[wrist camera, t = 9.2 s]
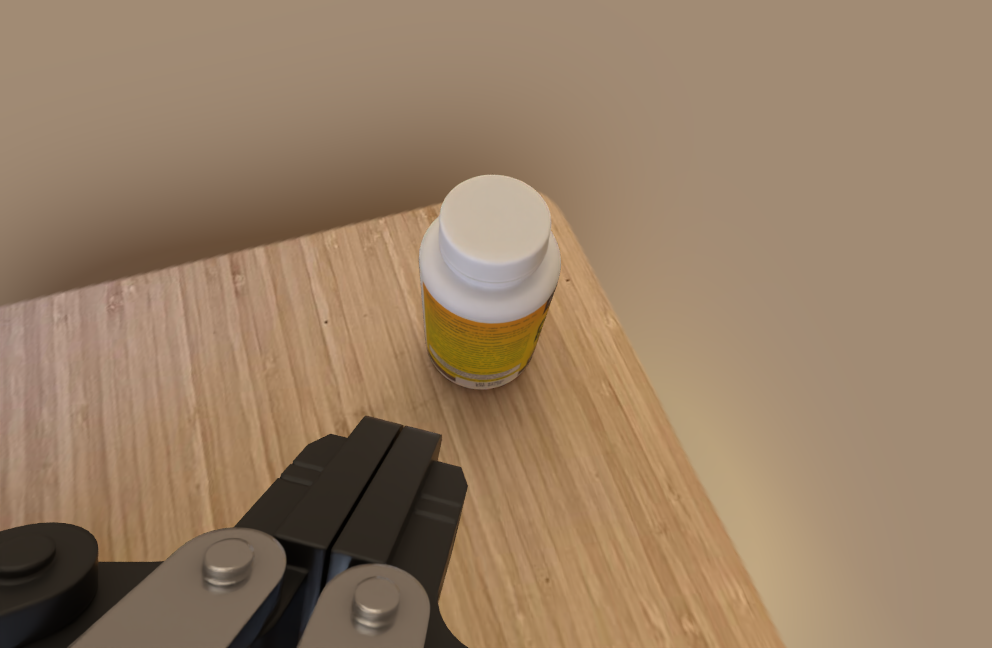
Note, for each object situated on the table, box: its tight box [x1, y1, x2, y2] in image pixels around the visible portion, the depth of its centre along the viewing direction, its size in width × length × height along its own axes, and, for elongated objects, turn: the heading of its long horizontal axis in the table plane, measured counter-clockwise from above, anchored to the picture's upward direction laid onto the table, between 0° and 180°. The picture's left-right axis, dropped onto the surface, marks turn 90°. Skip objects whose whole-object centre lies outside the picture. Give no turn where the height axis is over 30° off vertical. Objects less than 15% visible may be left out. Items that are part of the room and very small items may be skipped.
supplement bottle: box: [419, 175, 561, 389], centre depth 23 cm, size 6×6×10 cm
